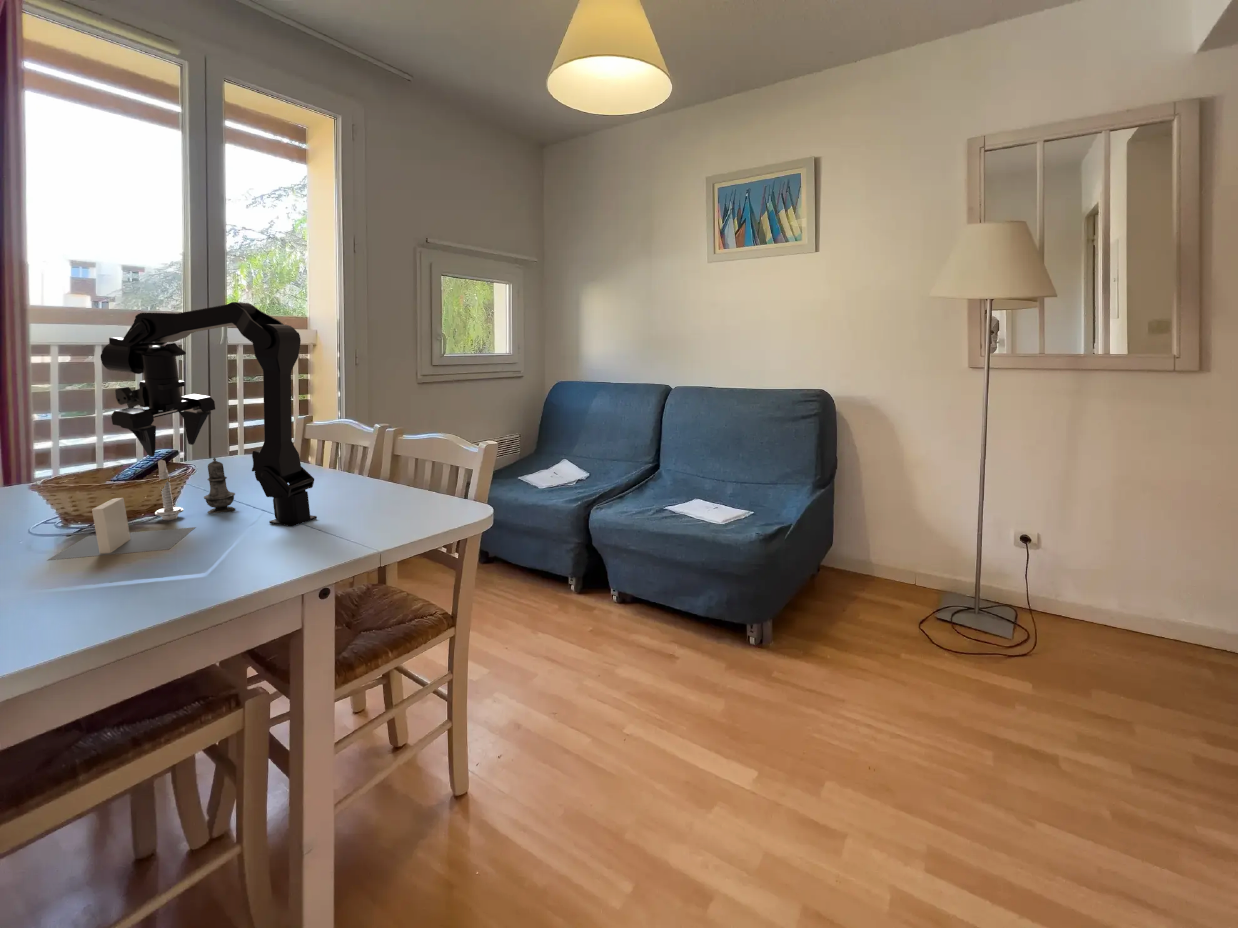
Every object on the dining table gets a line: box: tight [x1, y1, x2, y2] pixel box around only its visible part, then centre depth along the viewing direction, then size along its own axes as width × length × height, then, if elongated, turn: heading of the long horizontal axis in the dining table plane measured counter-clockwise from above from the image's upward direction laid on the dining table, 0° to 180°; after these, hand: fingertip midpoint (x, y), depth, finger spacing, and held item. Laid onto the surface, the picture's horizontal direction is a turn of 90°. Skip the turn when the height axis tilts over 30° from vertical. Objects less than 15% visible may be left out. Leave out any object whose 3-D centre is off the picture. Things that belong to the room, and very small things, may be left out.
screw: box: [154, 459, 184, 521], centre depth 132 cm, size 13×5×5 cm
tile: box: [91, 497, 131, 554], centre depth 115 cm, size 2×8×8 cm, turn 16°
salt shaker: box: [203, 457, 236, 514], centre depth 139 cm, size 6×6×12 cm
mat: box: [47, 526, 197, 561], centre depth 118 cm, size 18×14×1 cm
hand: (172, 450), depth 134 cm, fingers open, 9 cm apart
